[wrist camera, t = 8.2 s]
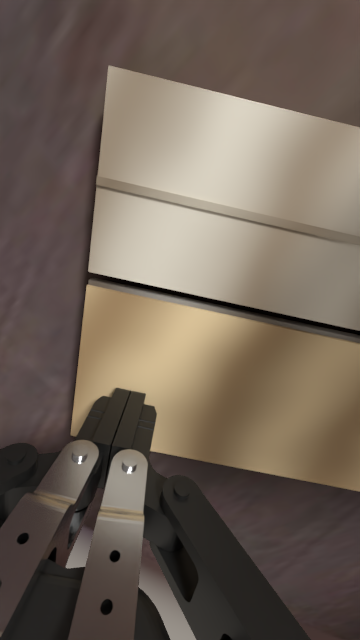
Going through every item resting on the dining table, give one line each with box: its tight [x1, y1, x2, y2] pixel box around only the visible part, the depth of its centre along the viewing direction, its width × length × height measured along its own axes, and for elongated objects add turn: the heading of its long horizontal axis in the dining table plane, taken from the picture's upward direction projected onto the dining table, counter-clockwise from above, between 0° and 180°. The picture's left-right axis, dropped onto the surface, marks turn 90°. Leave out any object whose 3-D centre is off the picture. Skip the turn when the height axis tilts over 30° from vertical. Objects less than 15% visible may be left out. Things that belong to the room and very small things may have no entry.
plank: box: [70, 278, 360, 491], centre depth 14 cm, size 16×8×1 cm, turn 78°
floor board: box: [88, 66, 360, 331], centre depth 12 cm, size 16×7×2 cm, turn 78°
